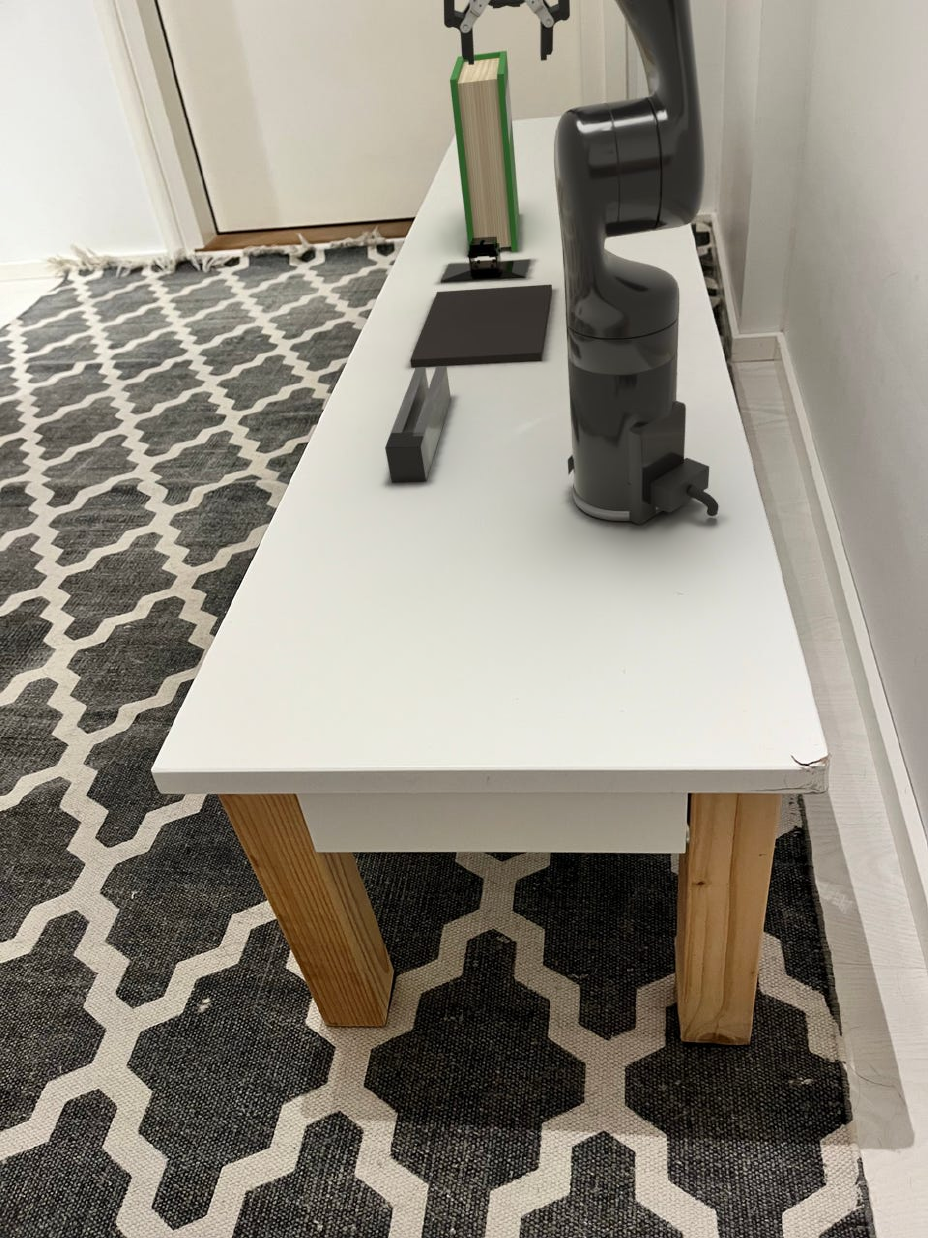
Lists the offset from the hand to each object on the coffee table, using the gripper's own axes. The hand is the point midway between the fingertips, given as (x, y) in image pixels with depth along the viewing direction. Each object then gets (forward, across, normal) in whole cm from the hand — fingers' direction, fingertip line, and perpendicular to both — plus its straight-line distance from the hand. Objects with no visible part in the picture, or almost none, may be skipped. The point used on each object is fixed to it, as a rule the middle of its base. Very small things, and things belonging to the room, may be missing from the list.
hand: (507, 59), depth 114 cm
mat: (+25, -4, -17) cm, 30 cm away
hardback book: (+36, -2, +18) cm, 40 cm away
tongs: (+17, -11, -44) cm, 48 cm away
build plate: (+31, -4, +2) cm, 31 cm away
